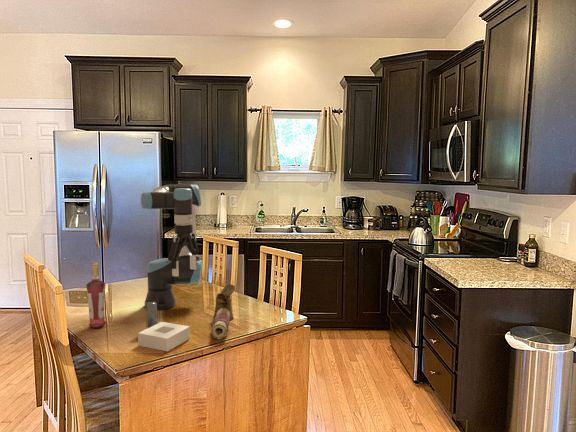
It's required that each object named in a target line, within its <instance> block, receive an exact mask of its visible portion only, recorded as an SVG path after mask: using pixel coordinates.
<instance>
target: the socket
mask: <svg viewBox="0 0 576 432" xmlns="http://www.w3.org/2000/svg"><path fill="white" fill-rule="evenodd" d="M190 339H191V327H190V326H189V325H183V324H177V323H171V322H165V321H160V322H157V324H156V325H154V326H152V327H150V328H148V327H147V328H146V329H144V330H142V331H139V332H138V333H137V341H138V343H137V344H138V345H137V346H139V347H143V348H149V349H154V350H159V351H163V352H169V351H171V350H173V349H174V348H177V347H178V346H180V345H181V344H183V343H185V342H186V341H188V340H190Z"/></svg>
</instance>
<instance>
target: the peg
mask: <svg viewBox="0 0 576 432" xmlns="http://www.w3.org/2000/svg"><path fill="white" fill-rule="evenodd" d="M146 317H147V318H146V323H147V329H148V328H150V327H152V326H154V325H156V324H158V310H157V302H154V301H153V302H148V303H147V308H146Z"/></svg>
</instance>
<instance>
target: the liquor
mask: <svg viewBox="0 0 576 432" xmlns="http://www.w3.org/2000/svg"><path fill="white" fill-rule="evenodd" d="M90 265H91V269H92V271H91V273H92V274H91V281H89V282H88V283H87V284H86V293H87V294H86V295H87V304H88V316H89V317H88V318H89V323H88V326H89V327H90V328H92V329H101V328H103V327H104V326H105V325H106V324H107V321H106V319H105V318H106V317H105V316H106V315H105V314H106V312H105V309H106V306H105V301H106V300H105V299H106V282H104V281H102V280H101V279H100V274H99V262H91V264H90Z"/></svg>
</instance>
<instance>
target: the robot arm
mask: <svg viewBox="0 0 576 432" xmlns="http://www.w3.org/2000/svg"><path fill="white" fill-rule="evenodd" d="M201 205H202V199H201V191H200V187H199V185H197V184H191V183H189V184H187V183H186V184H180V183H179V184H171V183H169V184H165V185H161V186H158V187H156V188H153V190H152V191H147V192H145V191H144V192H142V193H141V195H140V206H141V208H142V209H143V210H167V209H168V210H173V209H174V215H173V216H174V234H176V237H175V236H173V237H171V246H170V249H169V253H168V256H167V258H166V257H163V258H159V259H158V258H157V259H154V260H151V261H149V262H148V263H147V271H146V274H147V294H146V296H145V301H144V308H145V309H147V303H148V302H153V301H154V302H157V311H162V310H167V309H171V308H174V307H175V306H176V305H177V299H176V297H175V294H174V291H173V285H176V286H177V285H194V284H198V283H200V282H201V276H202V270H203V269H202V267H203V260H201V259H200V256H199V252H200V249H199V246H198V243H197V219H196V218H197V215H196V214H197V211H198V210H199V207H200V206H201Z"/></svg>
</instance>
